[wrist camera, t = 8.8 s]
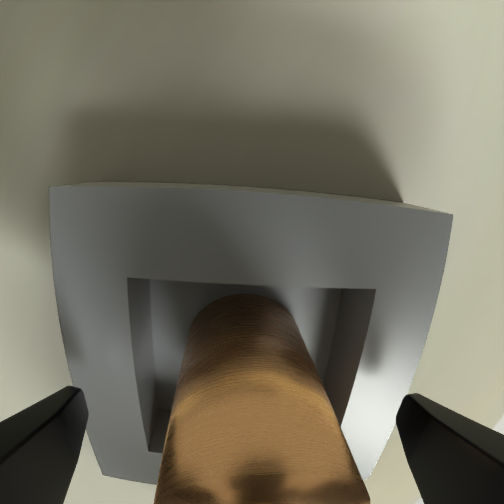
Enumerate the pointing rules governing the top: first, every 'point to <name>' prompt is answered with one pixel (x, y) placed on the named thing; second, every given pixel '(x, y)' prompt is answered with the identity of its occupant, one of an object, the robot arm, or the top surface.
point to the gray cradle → (238, 282)
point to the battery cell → (253, 416)
